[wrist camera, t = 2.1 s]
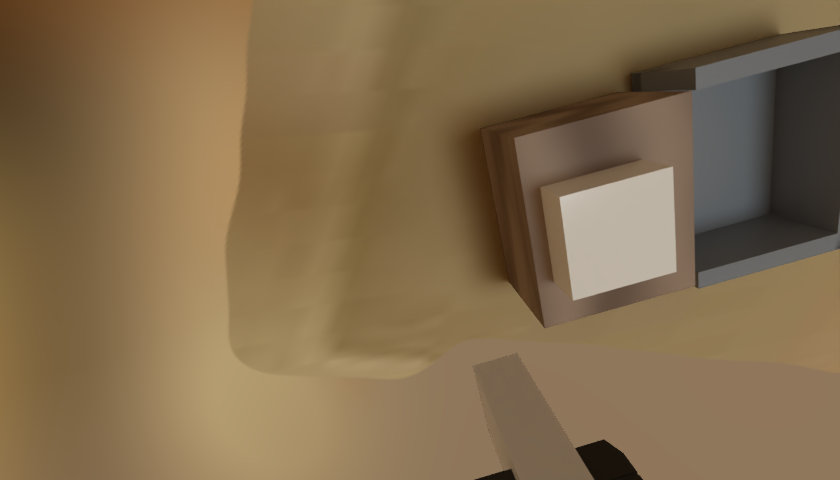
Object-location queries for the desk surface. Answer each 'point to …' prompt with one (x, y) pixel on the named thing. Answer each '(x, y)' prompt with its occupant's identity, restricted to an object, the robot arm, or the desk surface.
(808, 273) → the desk surface
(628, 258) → the cream tile
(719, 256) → the box
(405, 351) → the desk surface
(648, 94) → the brown block
